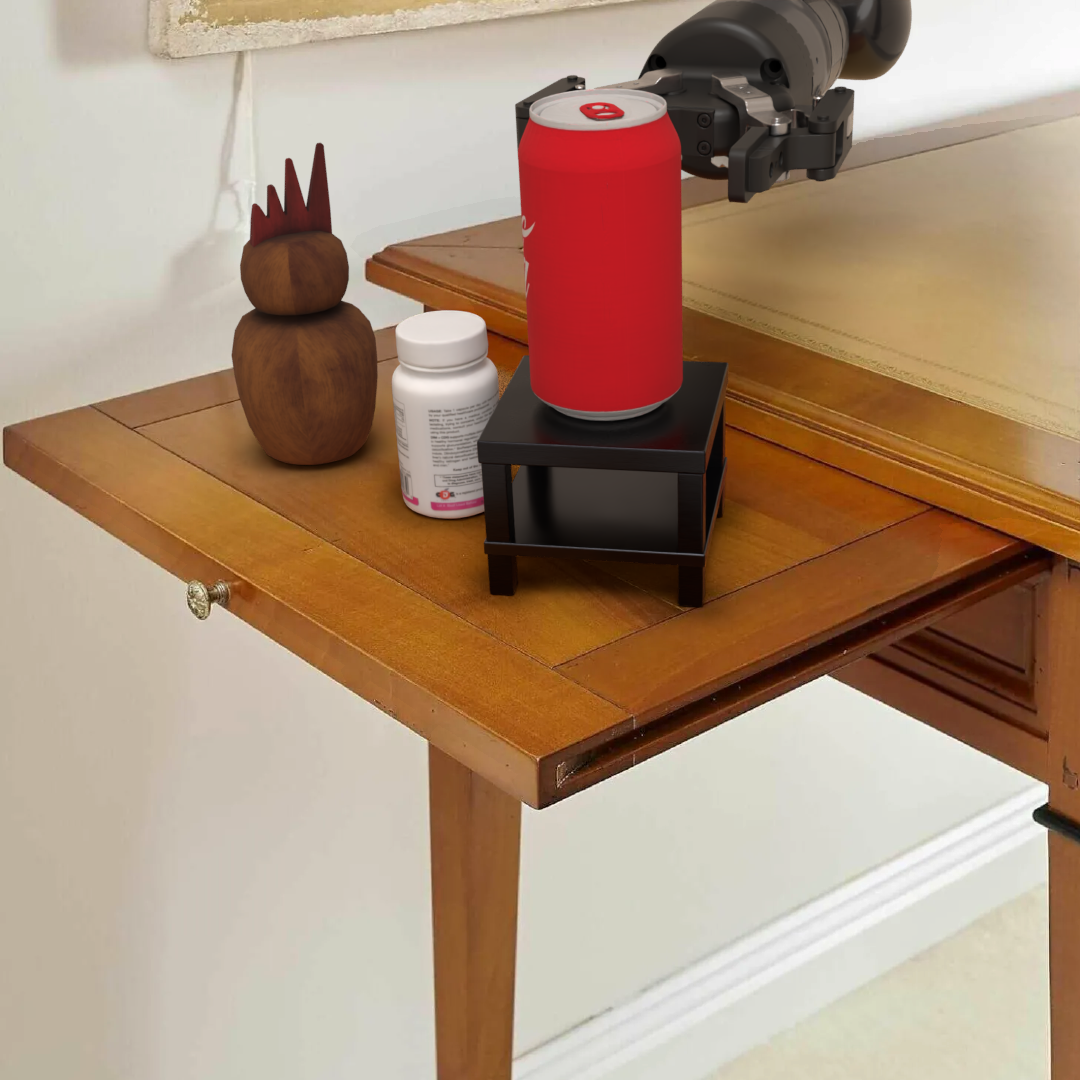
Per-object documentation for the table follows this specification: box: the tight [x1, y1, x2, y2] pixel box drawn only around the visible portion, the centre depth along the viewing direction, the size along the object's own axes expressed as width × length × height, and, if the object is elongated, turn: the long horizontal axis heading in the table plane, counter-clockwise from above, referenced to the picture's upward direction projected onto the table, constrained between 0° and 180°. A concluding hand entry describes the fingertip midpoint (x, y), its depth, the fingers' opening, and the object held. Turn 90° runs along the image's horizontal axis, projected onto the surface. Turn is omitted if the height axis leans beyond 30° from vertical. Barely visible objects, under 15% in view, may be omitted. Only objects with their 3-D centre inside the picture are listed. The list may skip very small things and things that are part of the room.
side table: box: [477, 354, 730, 608], centre depth 69 cm, size 9×9×7 cm
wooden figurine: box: [231, 142, 379, 466], centre depth 77 cm, size 7×6×15 cm
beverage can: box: [517, 88, 684, 421], centre depth 64 cm, size 6×6×12 cm
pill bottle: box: [391, 309, 500, 519], centre depth 73 cm, size 5×5×8 cm
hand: (634, 172), depth 66 cm, fingers open, 8 cm apart
